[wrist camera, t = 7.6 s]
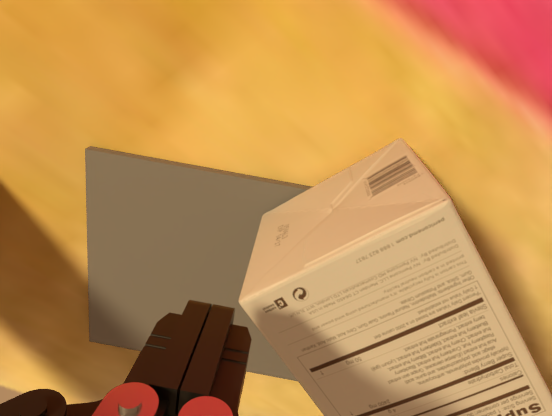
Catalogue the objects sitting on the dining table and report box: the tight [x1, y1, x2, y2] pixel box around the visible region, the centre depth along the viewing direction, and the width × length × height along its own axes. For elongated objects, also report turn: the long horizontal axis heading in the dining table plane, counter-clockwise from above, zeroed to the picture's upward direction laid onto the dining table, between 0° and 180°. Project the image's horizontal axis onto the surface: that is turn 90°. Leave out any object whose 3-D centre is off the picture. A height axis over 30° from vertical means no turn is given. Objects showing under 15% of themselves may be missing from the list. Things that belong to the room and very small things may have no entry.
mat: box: [85, 146, 312, 381], centre depth 27 cm, size 20×14×1 cm
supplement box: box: [239, 138, 552, 416], centre depth 21 cm, size 9×9×15 cm
